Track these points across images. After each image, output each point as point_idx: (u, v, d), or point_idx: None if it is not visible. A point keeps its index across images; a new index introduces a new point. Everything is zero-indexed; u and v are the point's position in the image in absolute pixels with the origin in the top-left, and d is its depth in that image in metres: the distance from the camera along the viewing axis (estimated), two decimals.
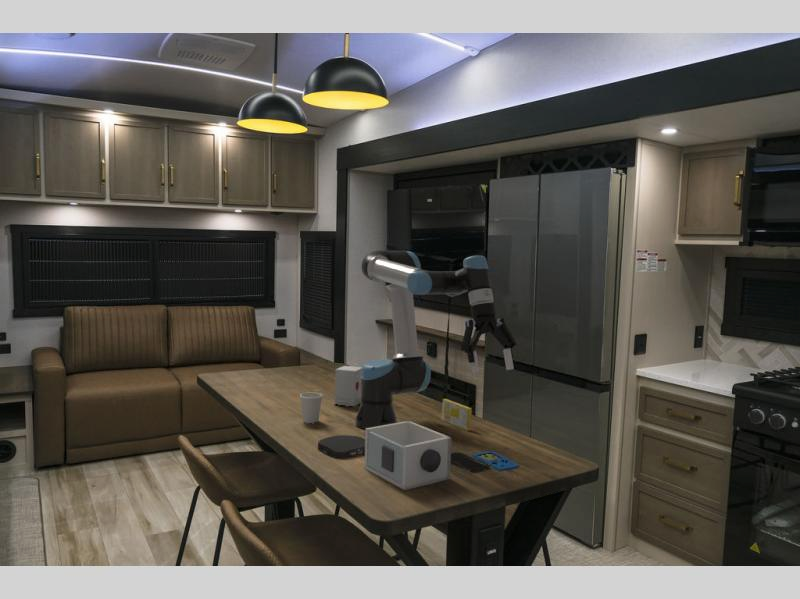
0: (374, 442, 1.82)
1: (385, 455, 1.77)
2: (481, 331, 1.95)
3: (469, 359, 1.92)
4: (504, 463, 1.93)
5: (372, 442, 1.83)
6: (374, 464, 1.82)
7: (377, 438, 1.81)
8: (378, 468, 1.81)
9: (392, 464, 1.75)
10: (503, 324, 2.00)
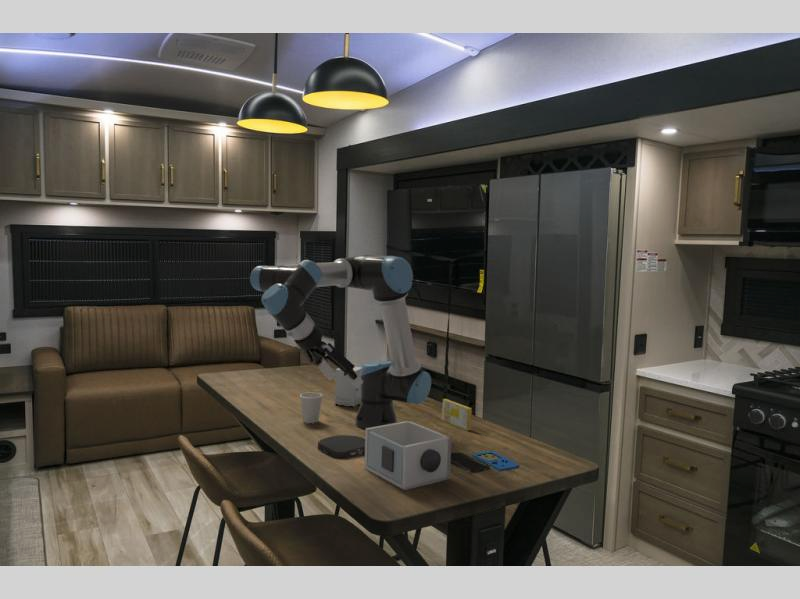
0: (374, 442, 1.82)
1: (385, 455, 1.77)
2: (311, 355, 1.81)
3: None
4: (504, 463, 1.93)
5: (372, 442, 1.83)
6: (374, 464, 1.82)
7: (377, 438, 1.81)
8: (378, 468, 1.81)
9: (392, 464, 1.75)
10: (328, 354, 1.73)
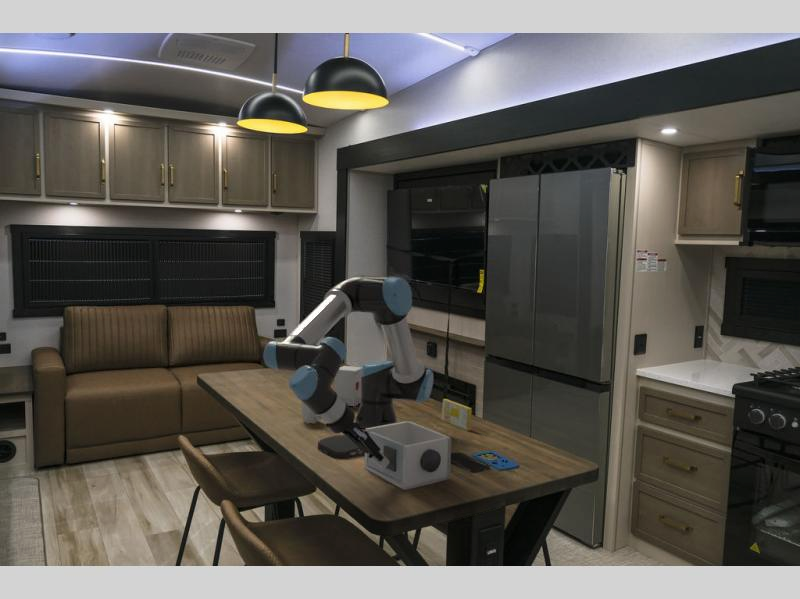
0: (375, 442, 1.82)
1: (387, 455, 1.77)
2: None
3: None
4: (504, 463, 1.93)
5: None
6: (375, 464, 1.83)
7: (378, 438, 1.81)
8: (379, 468, 1.81)
9: (395, 463, 1.75)
10: (361, 441, 1.65)
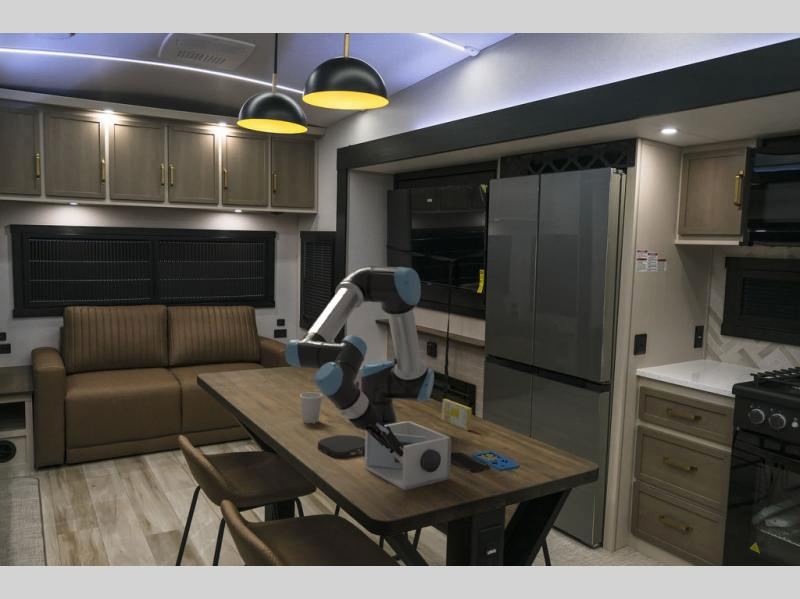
0: None
1: None
2: (366, 430, 1.75)
3: None
4: (504, 463, 1.93)
5: (377, 441, 1.84)
6: (380, 462, 1.84)
7: None
8: (386, 464, 1.84)
9: None
10: (383, 436, 1.69)
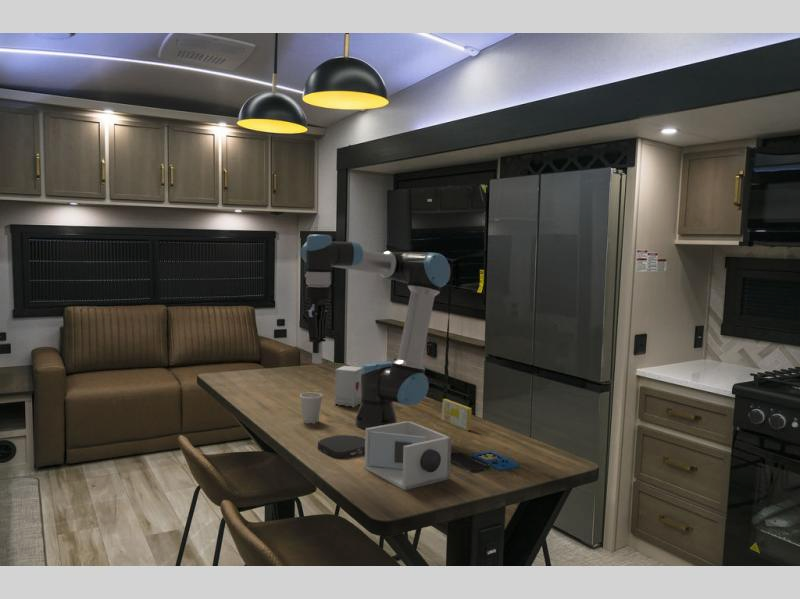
0: (380, 440, 1.84)
1: (401, 449, 1.82)
2: None
3: None
4: (504, 463, 1.93)
5: (377, 441, 1.84)
6: (380, 462, 1.84)
7: (384, 435, 1.83)
8: (386, 464, 1.84)
9: None
10: None
